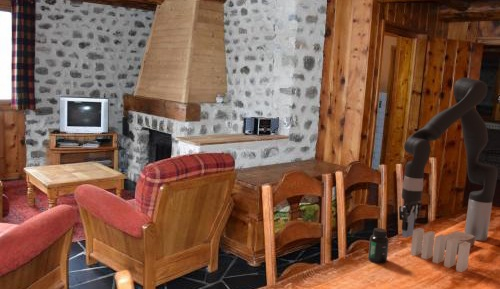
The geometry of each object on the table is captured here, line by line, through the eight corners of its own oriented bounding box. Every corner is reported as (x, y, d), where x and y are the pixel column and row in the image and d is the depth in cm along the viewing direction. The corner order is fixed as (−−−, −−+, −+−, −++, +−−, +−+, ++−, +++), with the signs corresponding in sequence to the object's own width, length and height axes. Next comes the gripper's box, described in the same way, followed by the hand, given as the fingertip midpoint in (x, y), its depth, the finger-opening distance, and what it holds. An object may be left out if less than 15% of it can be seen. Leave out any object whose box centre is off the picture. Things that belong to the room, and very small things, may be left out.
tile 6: (461, 266, 169) (465, 241, 167) (467, 268, 167) (470, 243, 166) (455, 270, 165) (459, 244, 164) (461, 272, 164) (464, 246, 162)
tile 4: (438, 258, 175) (441, 234, 174) (443, 260, 174) (446, 235, 172) (432, 261, 172) (435, 236, 170) (437, 263, 170) (440, 238, 169)
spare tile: (408, 233, 184) (410, 210, 182) (412, 235, 183) (415, 211, 181) (401, 236, 181) (404, 212, 179) (406, 237, 179) (409, 213, 178)
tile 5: (449, 262, 172) (453, 237, 170) (455, 264, 170) (458, 239, 169) (443, 266, 169) (447, 240, 167) (449, 267, 167) (452, 242, 166)
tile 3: (427, 254, 178) (430, 230, 177) (432, 256, 177) (435, 232, 175) (421, 257, 175) (424, 233, 174) (426, 259, 174) (429, 234, 172)
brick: (454, 254, 181) (455, 243, 181) (435, 247, 188) (436, 236, 187) (474, 246, 191) (476, 236, 191) (455, 240, 198) (457, 230, 197)
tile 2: (416, 251, 182) (419, 227, 180) (421, 252, 180) (424, 229, 179) (410, 254, 178) (413, 230, 177) (415, 255, 177) (417, 231, 175)
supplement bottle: (371, 263, 167) (374, 233, 165) (365, 256, 174) (368, 226, 172) (389, 264, 168) (392, 233, 166) (382, 256, 175) (385, 227, 173)
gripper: (413, 183, 186) (408, 223, 189) (394, 188, 176) (390, 229, 179) (430, 187, 181) (425, 228, 183) (412, 192, 171) (407, 235, 174)
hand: (408, 228), depth 181 cm, fingers closed on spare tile, 5 cm apart
